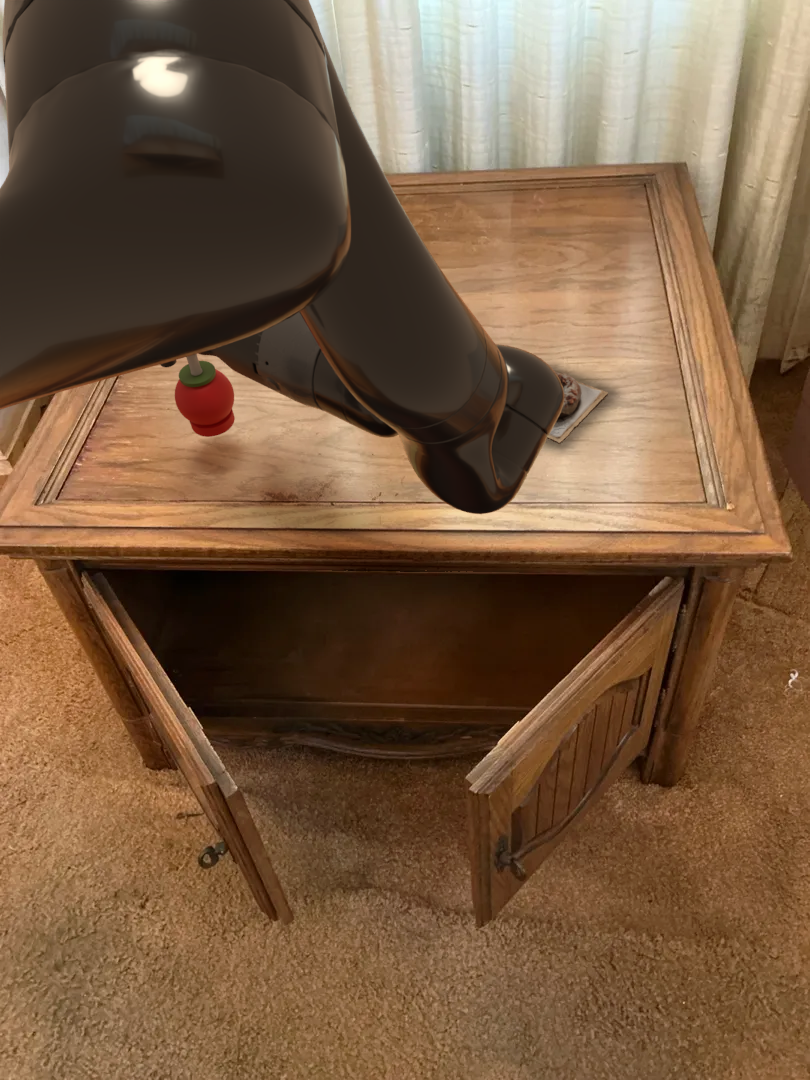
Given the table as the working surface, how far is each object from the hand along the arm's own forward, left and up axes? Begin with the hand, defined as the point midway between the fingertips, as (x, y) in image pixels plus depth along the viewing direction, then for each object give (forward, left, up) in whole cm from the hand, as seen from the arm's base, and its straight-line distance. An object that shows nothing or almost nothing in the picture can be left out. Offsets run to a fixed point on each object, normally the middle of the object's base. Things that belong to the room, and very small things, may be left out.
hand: (144, 274), depth 69 cm
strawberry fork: (+1, -3, -14) cm, 15 cm away
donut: (+31, -13, -18) cm, 38 cm away
